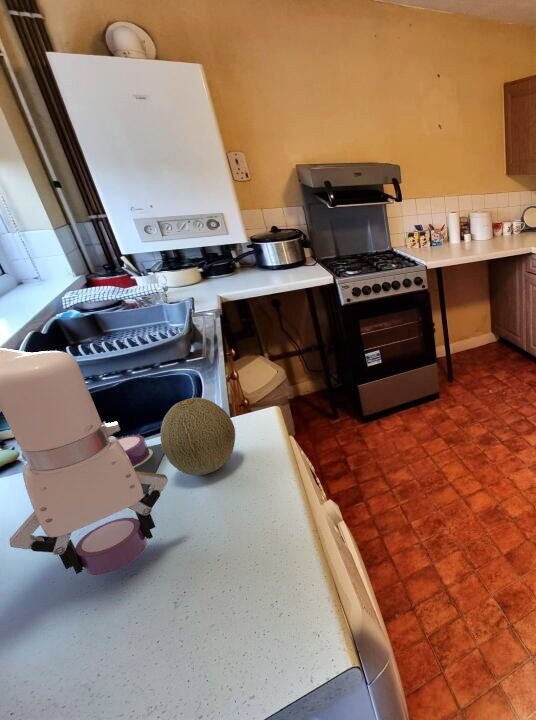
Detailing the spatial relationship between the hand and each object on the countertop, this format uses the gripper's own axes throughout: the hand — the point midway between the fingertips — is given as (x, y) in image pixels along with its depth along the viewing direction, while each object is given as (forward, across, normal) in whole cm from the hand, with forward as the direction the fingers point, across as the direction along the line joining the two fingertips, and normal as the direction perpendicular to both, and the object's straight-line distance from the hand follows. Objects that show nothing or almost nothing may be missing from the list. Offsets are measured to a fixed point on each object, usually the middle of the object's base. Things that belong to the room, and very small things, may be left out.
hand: (114, 549), depth 63 cm
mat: (+4, -4, -27) cm, 28 cm away
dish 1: (+1, 0, 0) cm, 1 cm away
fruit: (+4, -16, -16) cm, 23 cm away
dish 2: (+3, -6, -31) cm, 32 cm away
